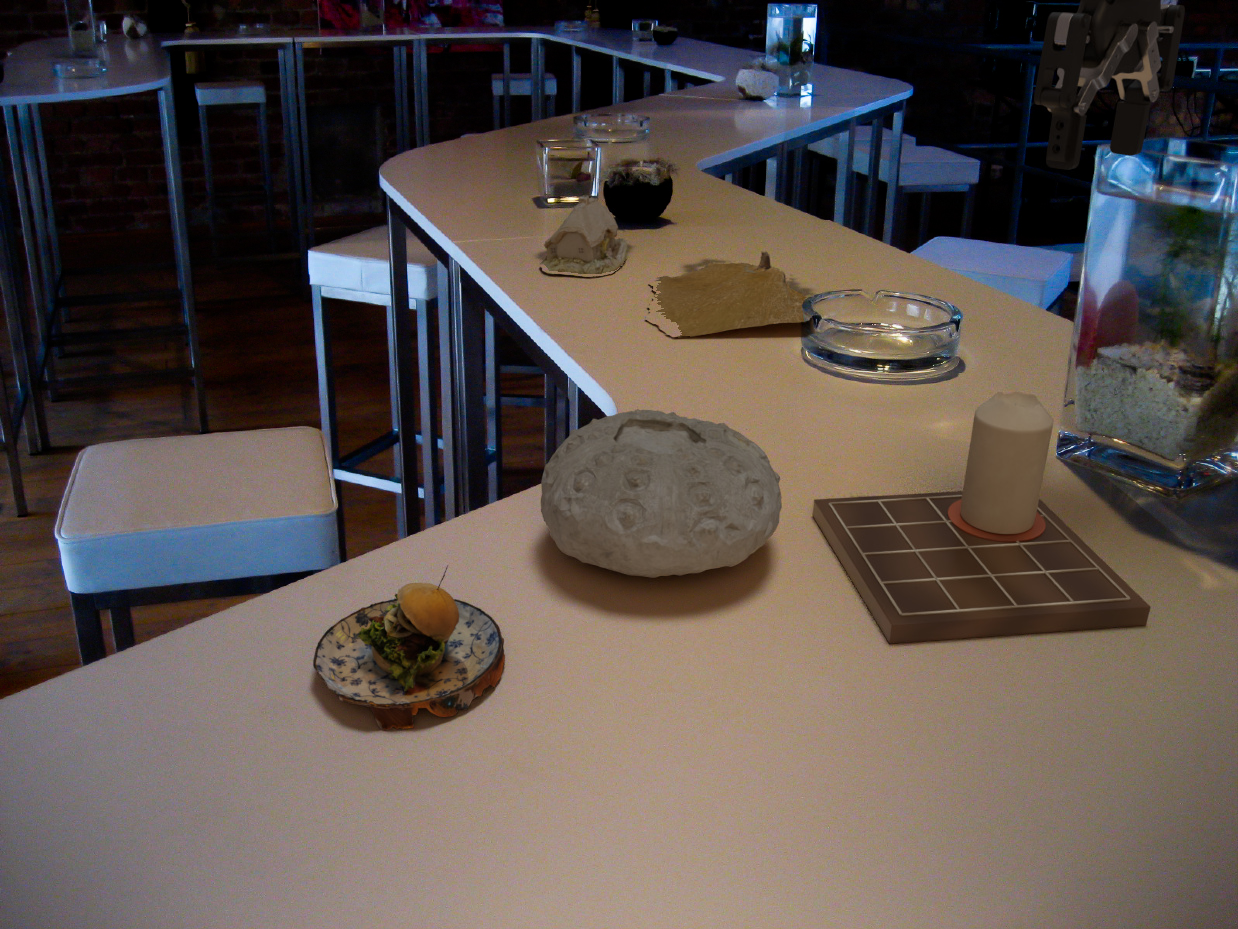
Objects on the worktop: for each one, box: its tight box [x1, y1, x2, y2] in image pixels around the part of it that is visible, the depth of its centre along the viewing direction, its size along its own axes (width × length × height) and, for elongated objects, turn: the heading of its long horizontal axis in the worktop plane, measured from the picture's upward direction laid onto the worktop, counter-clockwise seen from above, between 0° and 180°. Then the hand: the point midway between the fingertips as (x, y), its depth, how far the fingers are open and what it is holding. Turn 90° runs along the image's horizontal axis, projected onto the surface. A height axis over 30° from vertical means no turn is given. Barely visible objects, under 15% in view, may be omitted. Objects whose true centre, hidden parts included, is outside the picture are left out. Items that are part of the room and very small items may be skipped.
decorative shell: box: [540, 408, 783, 579], centre depth 80 cm, size 18×18×10 cm
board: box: [812, 490, 1151, 645], centre depth 80 cm, size 18×18×2 cm
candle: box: [960, 391, 1055, 534], centre depth 81 cm, size 6×6×10 cm
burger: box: [312, 565, 506, 731], centre depth 67 cm, size 12×12×8 cm
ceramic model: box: [540, 194, 629, 274], centre depth 154 cm, size 14×11×10 cm
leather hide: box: [655, 251, 808, 337], centre depth 138 cm, size 29×26×5 cm
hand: (1094, 160), depth 80 cm, fingers open, 8 cm apart
